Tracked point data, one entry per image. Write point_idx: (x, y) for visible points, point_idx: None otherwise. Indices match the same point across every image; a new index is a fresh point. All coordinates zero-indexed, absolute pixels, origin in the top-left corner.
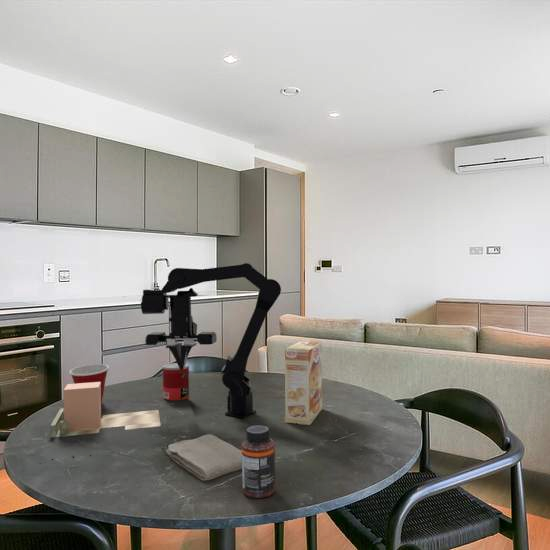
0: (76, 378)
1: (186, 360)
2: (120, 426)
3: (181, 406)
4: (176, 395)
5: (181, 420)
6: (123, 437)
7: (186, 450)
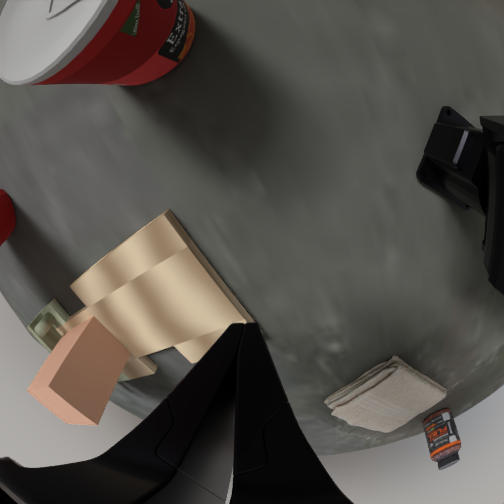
0: None
1: (278, 377)
2: (165, 347)
3: (203, 95)
4: (153, 72)
5: (283, 252)
6: None
7: (365, 420)
